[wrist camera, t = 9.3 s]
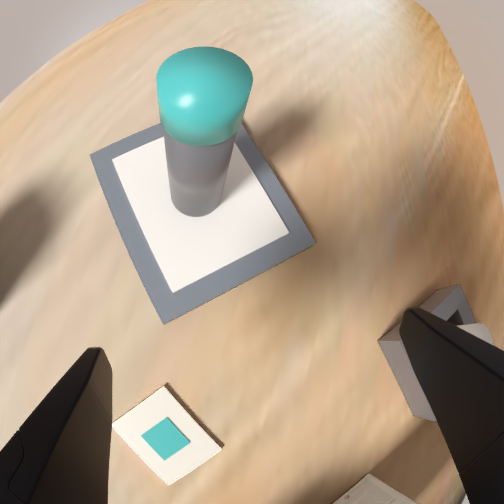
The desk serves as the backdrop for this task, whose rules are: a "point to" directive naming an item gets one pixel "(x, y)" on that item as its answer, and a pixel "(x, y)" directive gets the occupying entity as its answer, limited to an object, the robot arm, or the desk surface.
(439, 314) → the button housing
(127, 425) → the card
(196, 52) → the ball
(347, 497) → the small box
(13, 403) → the desk surface
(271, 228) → the pad
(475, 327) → the button
